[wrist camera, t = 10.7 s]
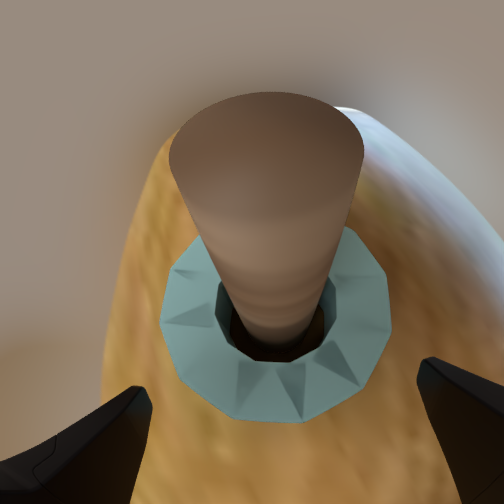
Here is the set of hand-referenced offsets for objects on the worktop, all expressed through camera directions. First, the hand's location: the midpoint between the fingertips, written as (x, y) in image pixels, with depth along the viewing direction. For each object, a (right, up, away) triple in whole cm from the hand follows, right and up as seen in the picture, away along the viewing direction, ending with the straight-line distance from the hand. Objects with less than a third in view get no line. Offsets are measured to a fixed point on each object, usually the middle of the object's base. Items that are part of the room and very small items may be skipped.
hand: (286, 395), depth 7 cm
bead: (0, 0, +9) cm, 9 cm away
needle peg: (0, 0, +9) cm, 9 cm away
